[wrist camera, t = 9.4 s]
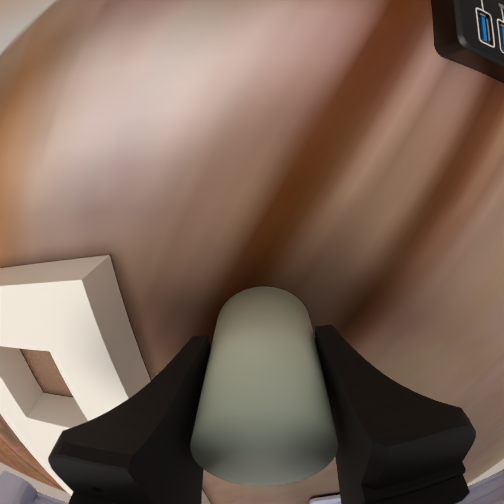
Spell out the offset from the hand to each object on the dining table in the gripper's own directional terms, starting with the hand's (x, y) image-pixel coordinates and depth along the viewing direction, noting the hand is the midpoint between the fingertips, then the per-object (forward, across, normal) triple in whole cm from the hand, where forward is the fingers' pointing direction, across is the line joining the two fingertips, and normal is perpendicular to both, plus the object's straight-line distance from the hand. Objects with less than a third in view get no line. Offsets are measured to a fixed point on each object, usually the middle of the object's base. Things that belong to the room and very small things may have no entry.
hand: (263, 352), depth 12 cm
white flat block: (+2, +12, +7) cm, 14 cm away
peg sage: (+2, 0, 0) cm, 2 cm away
